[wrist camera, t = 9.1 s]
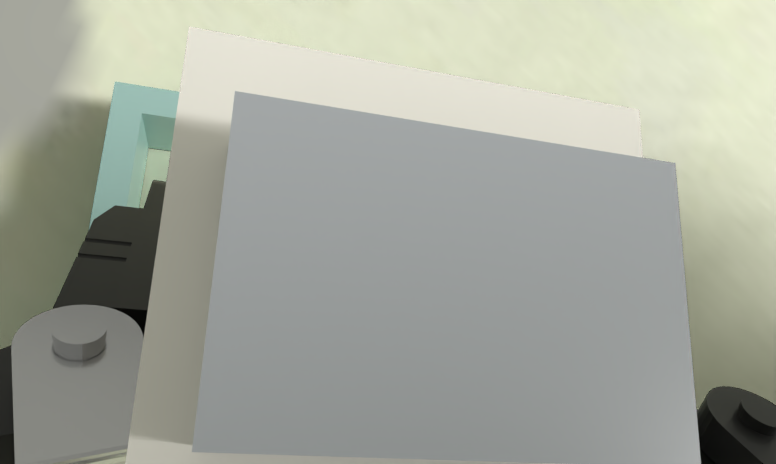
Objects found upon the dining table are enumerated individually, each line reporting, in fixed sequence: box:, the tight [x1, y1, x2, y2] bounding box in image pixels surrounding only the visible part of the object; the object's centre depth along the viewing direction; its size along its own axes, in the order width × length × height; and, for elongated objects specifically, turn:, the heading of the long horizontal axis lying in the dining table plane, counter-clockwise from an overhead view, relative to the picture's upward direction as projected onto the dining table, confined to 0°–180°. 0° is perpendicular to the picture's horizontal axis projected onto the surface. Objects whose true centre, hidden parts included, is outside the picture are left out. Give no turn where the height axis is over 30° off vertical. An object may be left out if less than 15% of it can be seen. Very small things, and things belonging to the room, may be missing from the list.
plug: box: [125, 26, 701, 464], centre depth 10 cm, size 4×4×12 cm
